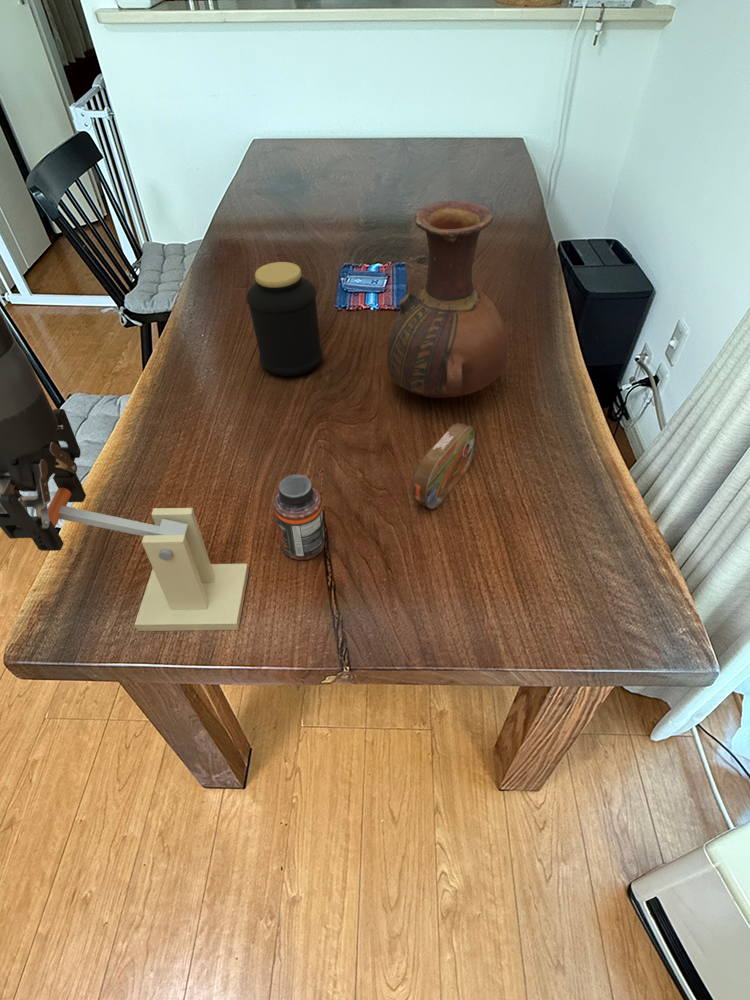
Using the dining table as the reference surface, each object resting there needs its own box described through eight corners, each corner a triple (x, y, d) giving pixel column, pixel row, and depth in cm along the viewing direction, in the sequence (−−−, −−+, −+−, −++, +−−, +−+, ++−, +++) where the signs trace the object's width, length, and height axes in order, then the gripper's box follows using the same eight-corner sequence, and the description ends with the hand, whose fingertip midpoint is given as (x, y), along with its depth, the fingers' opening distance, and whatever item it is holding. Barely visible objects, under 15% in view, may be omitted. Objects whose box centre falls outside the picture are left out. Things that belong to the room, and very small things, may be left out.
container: (244, 369, 111) (226, 274, 98) (288, 341, 117) (276, 249, 105) (294, 391, 106) (282, 294, 93) (336, 360, 112) (330, 267, 100)
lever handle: (37, 536, 61) (36, 521, 60) (57, 498, 65) (57, 483, 64) (177, 564, 65) (180, 551, 63) (188, 526, 69) (191, 512, 67)
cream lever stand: (137, 631, 71) (98, 557, 61) (156, 571, 77) (124, 495, 68) (238, 630, 71) (215, 556, 61) (249, 570, 77) (230, 494, 68)
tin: (426, 520, 83) (430, 476, 77) (407, 511, 84) (409, 467, 79) (476, 461, 92) (482, 417, 86) (457, 453, 93) (463, 410, 87)
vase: (378, 358, 113) (377, 187, 92) (480, 350, 115) (503, 181, 93) (398, 440, 96) (402, 254, 74) (518, 430, 97) (556, 244, 76)
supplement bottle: (275, 537, 81) (263, 476, 73) (316, 523, 83) (309, 462, 75) (289, 568, 77) (279, 507, 69) (332, 553, 79) (327, 492, 71)
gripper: (-13, 351, 57) (55, 478, 69) (-94, 448, 47) (1, 577, 59) (65, 350, 57) (119, 477, 69) (1, 447, 47) (77, 576, 59)
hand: (65, 523), depth 64 cm, fingers open, 6 cm apart
